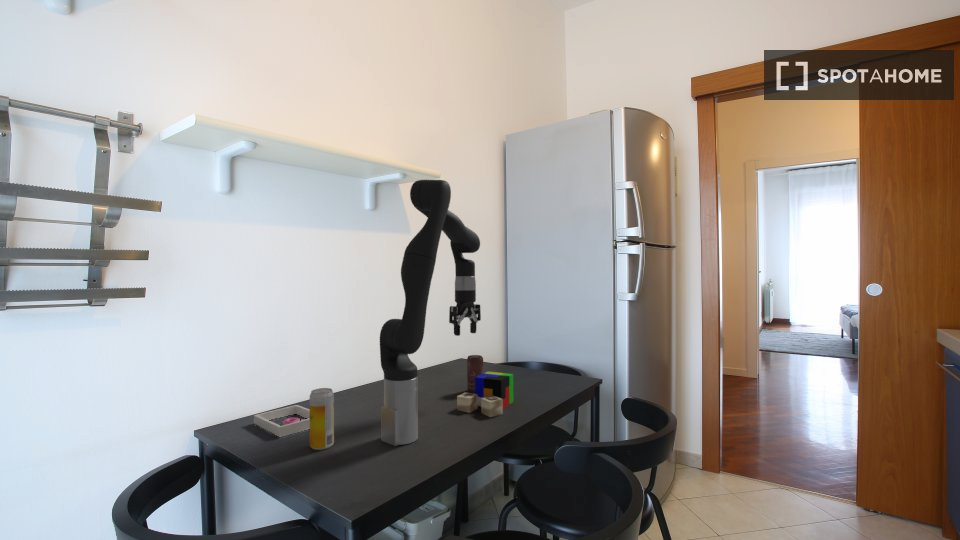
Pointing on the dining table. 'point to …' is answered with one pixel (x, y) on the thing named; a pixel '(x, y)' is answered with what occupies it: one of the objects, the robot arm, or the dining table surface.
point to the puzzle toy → (495, 386)
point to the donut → (291, 420)
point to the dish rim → (285, 429)
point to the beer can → (321, 418)
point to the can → (473, 371)
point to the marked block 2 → (492, 406)
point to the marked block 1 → (467, 402)
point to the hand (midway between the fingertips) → (465, 334)
